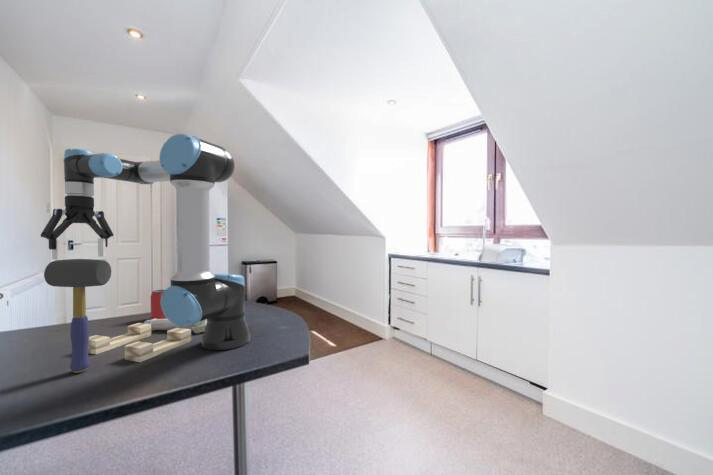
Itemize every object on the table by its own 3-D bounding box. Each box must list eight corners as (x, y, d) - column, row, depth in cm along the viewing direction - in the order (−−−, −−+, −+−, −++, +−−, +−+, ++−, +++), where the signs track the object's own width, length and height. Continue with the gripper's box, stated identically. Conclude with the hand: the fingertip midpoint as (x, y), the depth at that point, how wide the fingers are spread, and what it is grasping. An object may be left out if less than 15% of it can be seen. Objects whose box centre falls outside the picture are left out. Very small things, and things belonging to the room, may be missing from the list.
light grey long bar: (150, 318, 121) (211, 311, 118) (152, 335, 121) (213, 328, 118) (139, 321, 115) (203, 314, 113) (142, 339, 116) (205, 332, 113)
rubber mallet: (42, 379, 79) (40, 260, 78) (65, 366, 86) (64, 257, 85) (96, 376, 80) (95, 260, 80) (114, 364, 88) (113, 257, 87)
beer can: (169, 319, 132) (169, 291, 131) (150, 322, 128) (150, 292, 128) (168, 315, 137) (168, 288, 137) (150, 318, 133) (150, 290, 133)
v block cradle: (191, 341, 106) (191, 329, 106) (140, 362, 89) (140, 348, 89) (138, 333, 113) (138, 322, 113) (82, 351, 96) (82, 339, 96)
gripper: (110, 199, 119) (110, 255, 120) (24, 191, 96) (25, 260, 96) (124, 199, 117) (125, 255, 118) (40, 191, 93) (41, 261, 94)
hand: (80, 258), depth 107 cm, fingers open, 13 cm apart
